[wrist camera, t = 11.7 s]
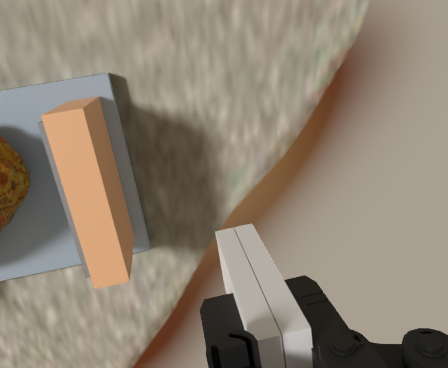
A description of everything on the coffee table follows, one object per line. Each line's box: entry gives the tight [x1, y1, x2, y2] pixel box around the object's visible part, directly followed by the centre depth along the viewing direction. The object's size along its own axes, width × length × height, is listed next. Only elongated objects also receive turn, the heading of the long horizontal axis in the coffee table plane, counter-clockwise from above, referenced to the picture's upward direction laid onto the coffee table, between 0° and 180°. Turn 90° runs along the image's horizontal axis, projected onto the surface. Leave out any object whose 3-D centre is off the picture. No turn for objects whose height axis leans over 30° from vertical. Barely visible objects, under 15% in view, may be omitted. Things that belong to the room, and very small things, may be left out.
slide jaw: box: [37, 96, 135, 289], centre depth 28 cm, size 12×3×7 cm, turn 9°
